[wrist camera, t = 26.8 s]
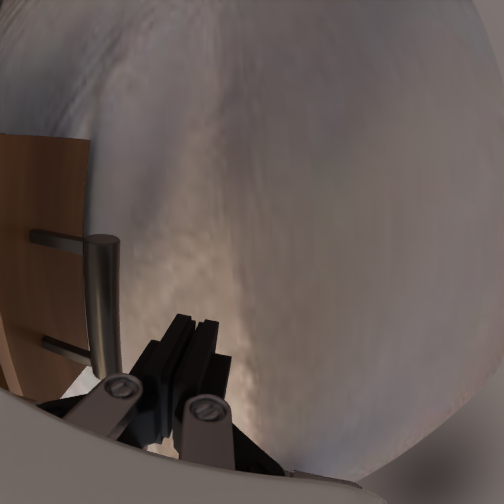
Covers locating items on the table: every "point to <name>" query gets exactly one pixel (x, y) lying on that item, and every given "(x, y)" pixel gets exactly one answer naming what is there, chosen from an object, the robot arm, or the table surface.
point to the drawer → (52, 271)
